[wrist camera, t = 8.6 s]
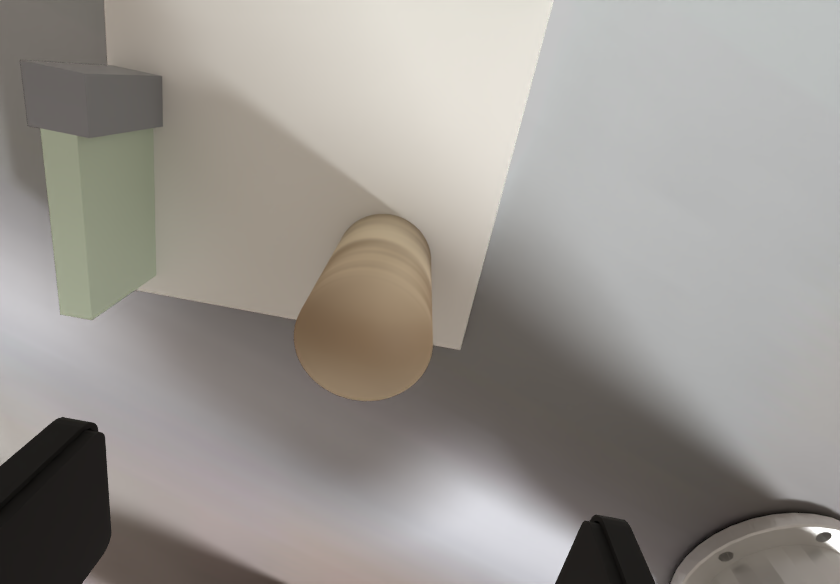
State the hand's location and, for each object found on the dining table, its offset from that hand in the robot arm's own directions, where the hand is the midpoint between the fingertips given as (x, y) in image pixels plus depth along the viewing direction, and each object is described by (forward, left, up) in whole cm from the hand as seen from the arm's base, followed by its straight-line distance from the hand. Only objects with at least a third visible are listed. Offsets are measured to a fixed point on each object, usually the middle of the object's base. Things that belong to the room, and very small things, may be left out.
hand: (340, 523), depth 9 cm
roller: (0, 0, -15) cm, 15 cm away
